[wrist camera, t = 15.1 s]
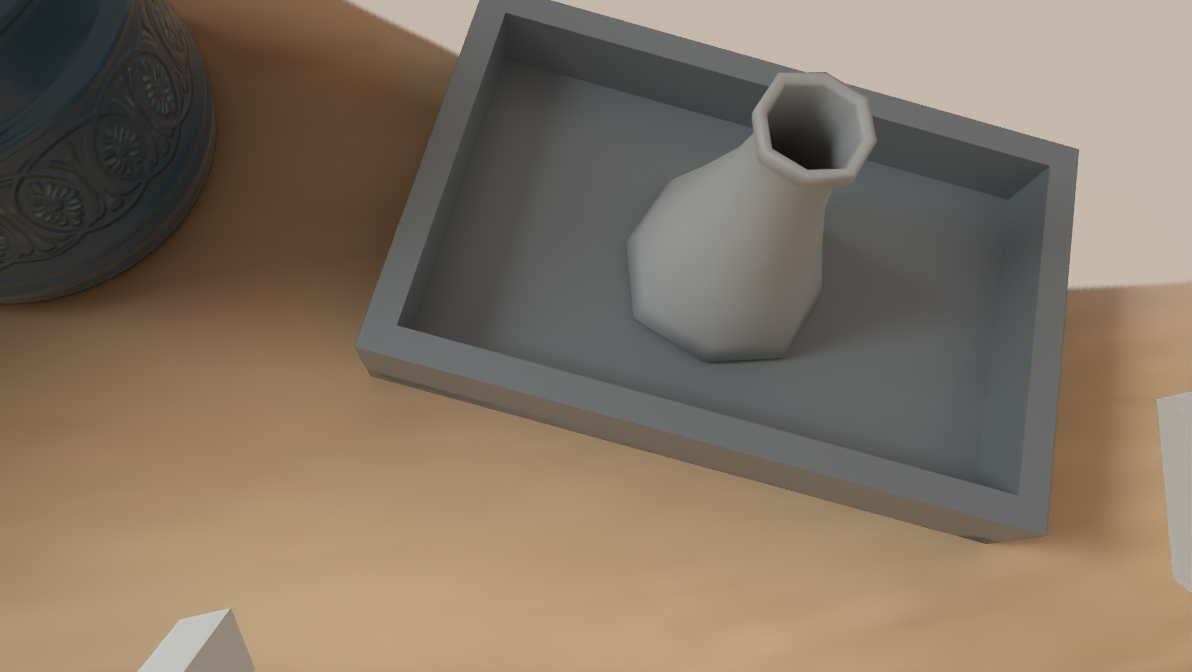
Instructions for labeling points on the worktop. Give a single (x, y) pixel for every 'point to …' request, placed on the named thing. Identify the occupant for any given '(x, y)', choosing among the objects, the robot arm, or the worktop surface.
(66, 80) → the canister
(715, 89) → the charcoal tray
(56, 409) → the worktop surface
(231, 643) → the robot arm
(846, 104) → the flask
